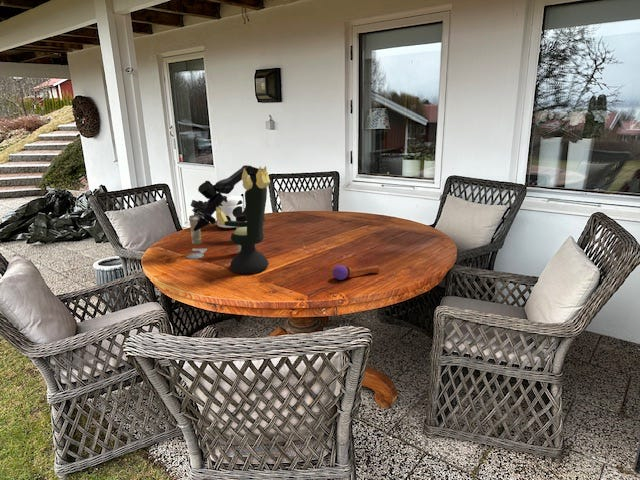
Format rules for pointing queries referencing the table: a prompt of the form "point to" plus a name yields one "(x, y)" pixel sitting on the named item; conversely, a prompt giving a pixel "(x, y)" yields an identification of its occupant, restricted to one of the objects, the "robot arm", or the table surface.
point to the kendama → (352, 271)
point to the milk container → (231, 209)
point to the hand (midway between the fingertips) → (192, 229)
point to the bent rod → (200, 250)
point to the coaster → (195, 256)
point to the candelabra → (249, 225)
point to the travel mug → (242, 219)
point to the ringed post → (194, 234)
